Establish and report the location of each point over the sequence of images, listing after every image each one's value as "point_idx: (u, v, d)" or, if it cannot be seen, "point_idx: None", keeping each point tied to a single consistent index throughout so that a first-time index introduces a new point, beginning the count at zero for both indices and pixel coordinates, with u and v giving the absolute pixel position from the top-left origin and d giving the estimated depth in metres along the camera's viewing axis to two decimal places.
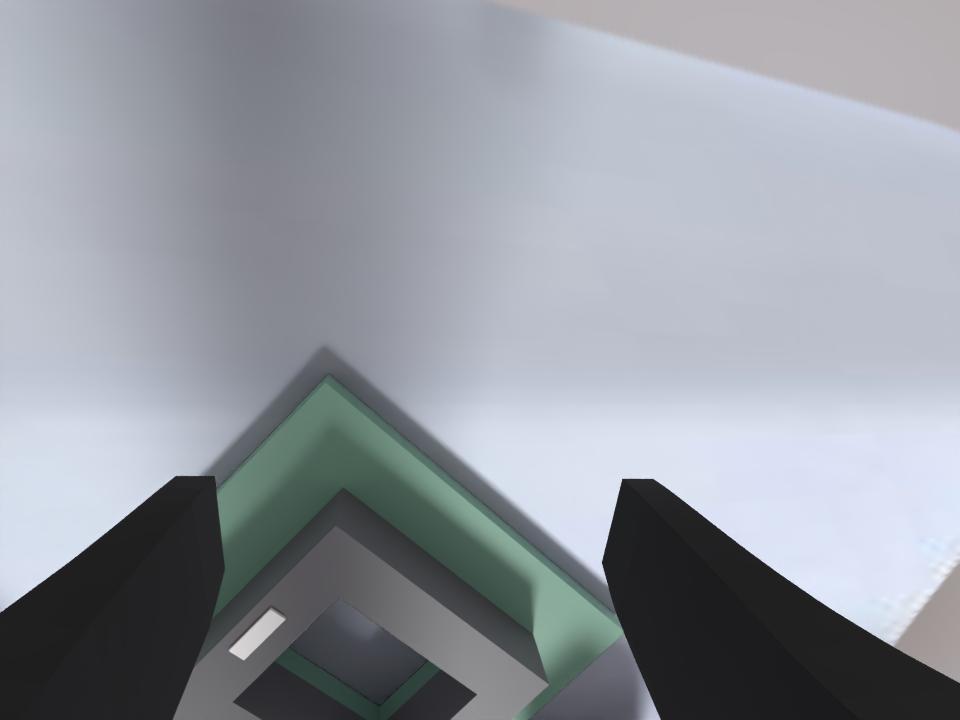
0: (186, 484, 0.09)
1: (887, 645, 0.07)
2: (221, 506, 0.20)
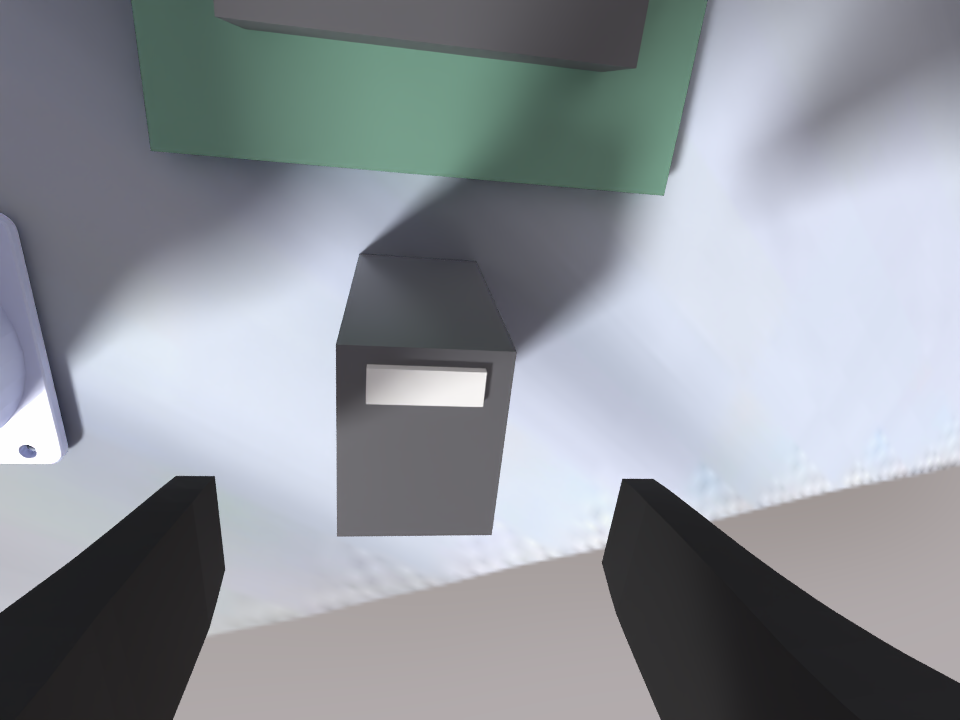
0: (186, 484, 0.09)
1: (887, 645, 0.07)
2: None
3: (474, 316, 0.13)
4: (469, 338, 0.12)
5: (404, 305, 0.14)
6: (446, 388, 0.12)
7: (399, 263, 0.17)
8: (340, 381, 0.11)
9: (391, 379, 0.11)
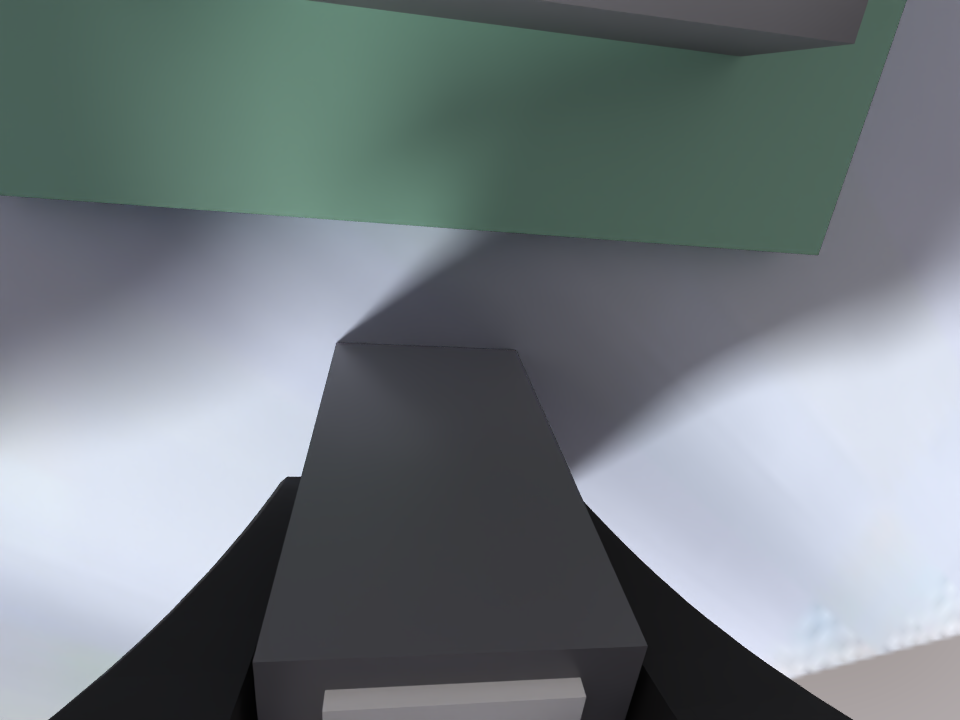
0: None
1: (750, 652, 0.06)
2: None
3: (537, 511, 0.07)
4: (542, 600, 0.06)
5: (407, 484, 0.07)
6: None
7: (398, 362, 0.11)
8: None
9: None
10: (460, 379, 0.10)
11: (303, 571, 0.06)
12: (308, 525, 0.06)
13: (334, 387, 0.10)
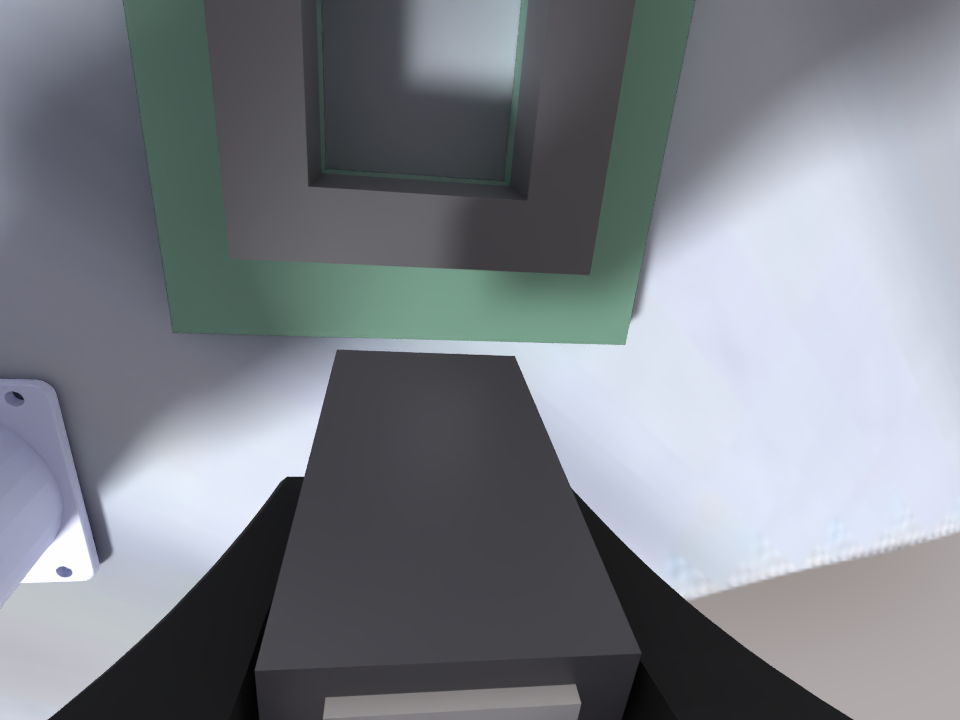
0: None
1: (750, 652, 0.06)
2: None
3: (534, 519, 0.07)
4: (538, 608, 0.06)
5: (405, 492, 0.07)
6: None
7: (398, 369, 0.11)
8: None
9: None
10: (459, 386, 0.10)
11: (304, 580, 0.06)
12: (309, 534, 0.07)
13: (334, 395, 0.10)
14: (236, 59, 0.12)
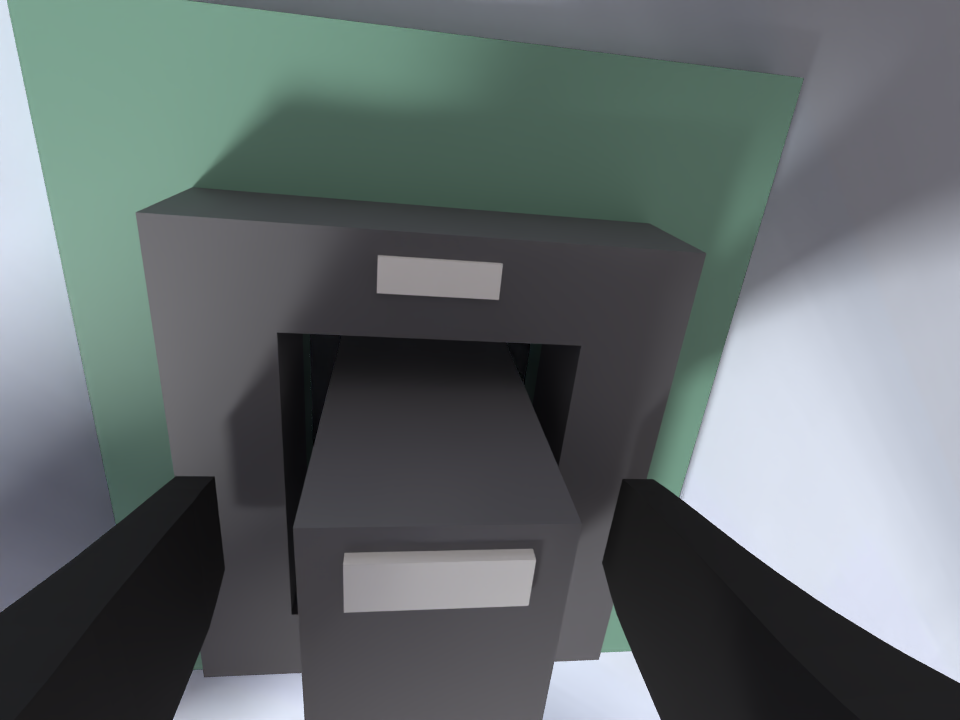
0: (187, 484, 0.09)
1: (887, 645, 0.07)
2: (512, 66, 0.10)
3: (507, 441, 0.09)
4: (505, 496, 0.08)
5: (404, 422, 0.09)
6: (472, 584, 0.07)
7: None
8: (303, 578, 0.07)
9: (384, 577, 0.07)
10: (450, 348, 0.12)
11: (326, 476, 0.08)
12: (328, 448, 0.08)
13: (344, 354, 0.11)
14: None
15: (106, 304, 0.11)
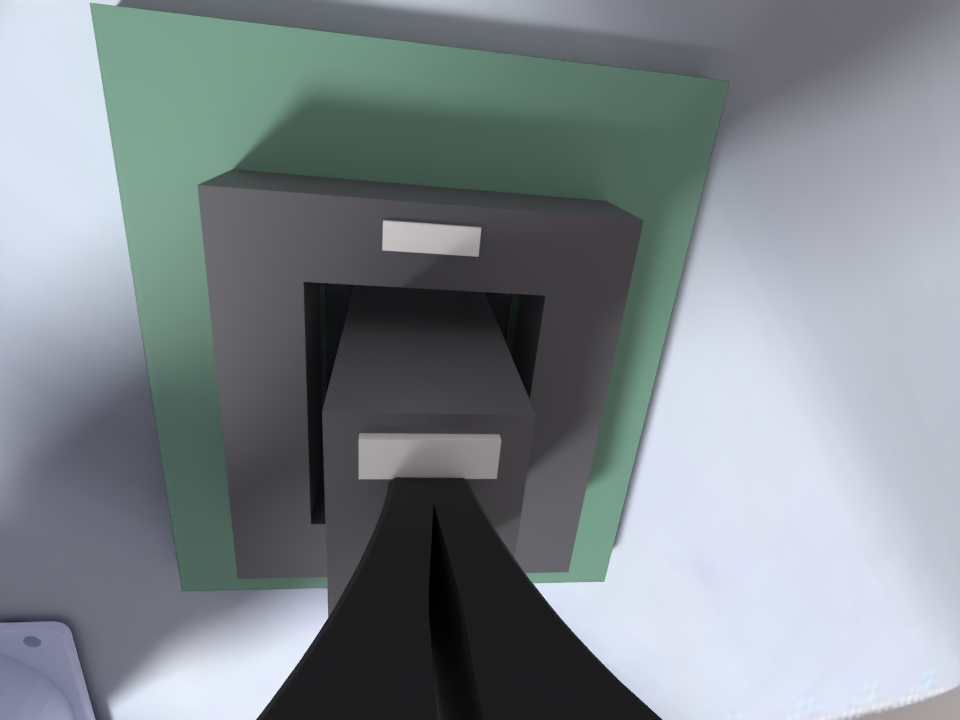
0: (414, 485, 0.09)
1: (597, 660, 0.06)
2: (490, 71, 0.13)
3: (484, 365, 0.12)
4: (480, 398, 0.10)
5: (403, 352, 0.12)
6: (453, 459, 0.10)
7: (398, 295, 0.15)
8: (328, 453, 0.10)
9: (389, 452, 0.10)
10: (441, 304, 0.15)
11: (344, 383, 0.10)
12: (345, 367, 0.11)
13: (355, 307, 0.14)
14: (247, 439, 0.13)
15: (159, 266, 0.14)
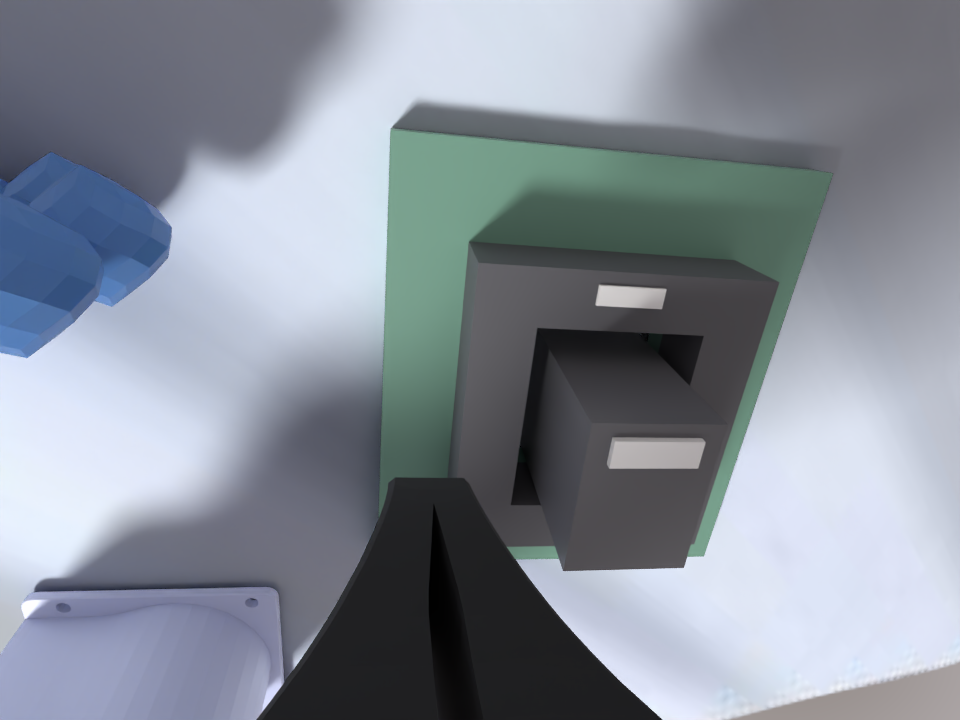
0: (414, 486, 0.09)
1: (597, 659, 0.06)
2: (661, 170, 0.18)
3: (671, 388, 0.16)
4: (684, 412, 0.15)
5: (610, 378, 0.16)
6: (673, 455, 0.14)
7: (572, 330, 0.20)
8: (589, 450, 0.14)
9: (632, 449, 0.14)
10: (608, 338, 0.19)
11: (590, 403, 0.15)
12: (580, 390, 0.16)
13: (550, 341, 0.19)
14: (477, 441, 0.18)
15: (405, 311, 0.18)
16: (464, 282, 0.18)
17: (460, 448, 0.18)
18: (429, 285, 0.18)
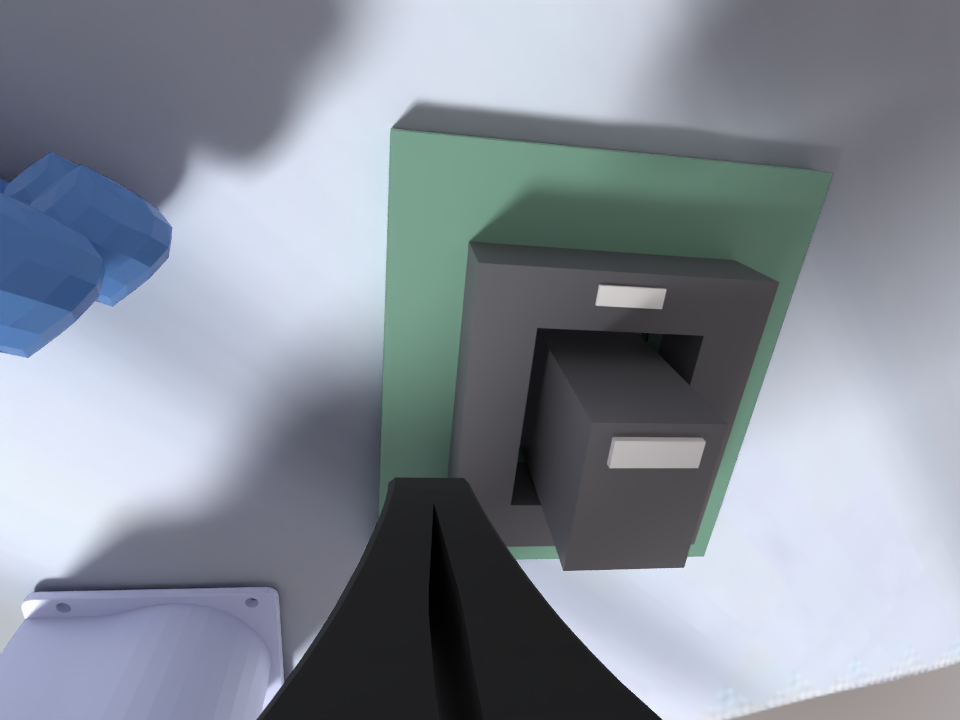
0: (414, 486, 0.09)
1: (597, 659, 0.06)
2: (661, 170, 0.18)
3: (671, 388, 0.16)
4: (684, 412, 0.15)
5: (610, 378, 0.16)
6: (673, 454, 0.14)
7: (572, 330, 0.20)
8: (590, 450, 0.14)
9: (632, 449, 0.14)
10: (608, 338, 0.19)
11: (590, 402, 0.15)
12: (580, 390, 0.16)
13: (550, 341, 0.19)
14: (477, 441, 0.18)
15: (405, 311, 0.18)
16: (464, 282, 0.18)
17: (460, 448, 0.18)
18: (429, 285, 0.18)
